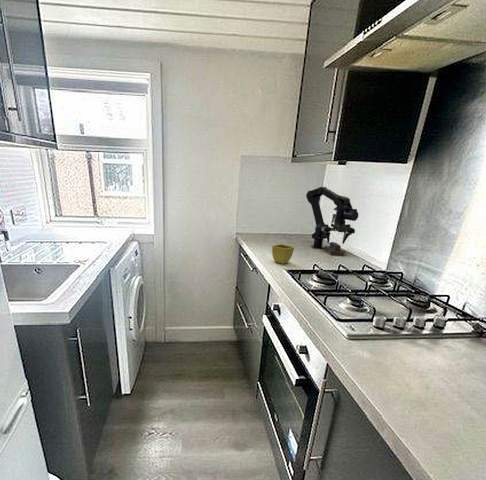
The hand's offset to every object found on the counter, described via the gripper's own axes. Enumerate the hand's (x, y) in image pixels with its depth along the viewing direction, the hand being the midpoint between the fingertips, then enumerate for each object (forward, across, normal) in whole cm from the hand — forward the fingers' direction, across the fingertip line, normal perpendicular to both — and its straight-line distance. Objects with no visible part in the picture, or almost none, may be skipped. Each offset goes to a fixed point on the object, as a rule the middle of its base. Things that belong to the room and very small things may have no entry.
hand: (335, 243), depth 190 cm
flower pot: (+6, -38, -30) cm, 49 cm away
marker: (+4, 0, 0) cm, 4 cm away
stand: (+6, 0, 0) cm, 6 cm away
